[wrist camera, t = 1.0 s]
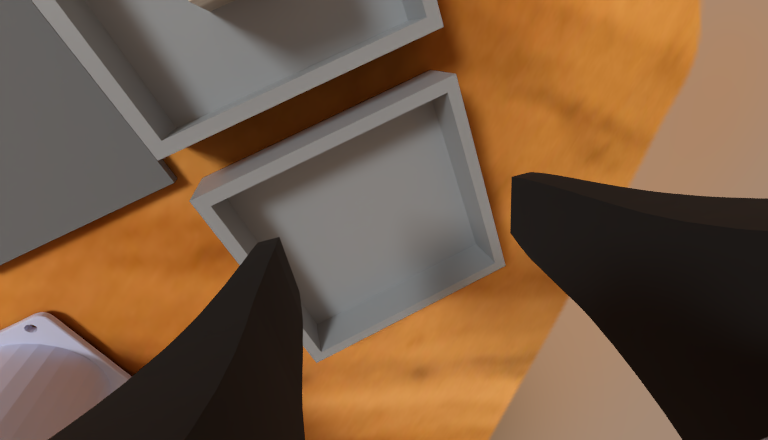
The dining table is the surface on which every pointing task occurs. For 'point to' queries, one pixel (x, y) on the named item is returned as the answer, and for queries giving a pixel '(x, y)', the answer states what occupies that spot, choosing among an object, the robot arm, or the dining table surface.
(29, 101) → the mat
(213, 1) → the letter cube
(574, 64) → the dining table surface
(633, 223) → the robot arm
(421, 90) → the tray
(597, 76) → the dining table surface
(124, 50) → the tray
